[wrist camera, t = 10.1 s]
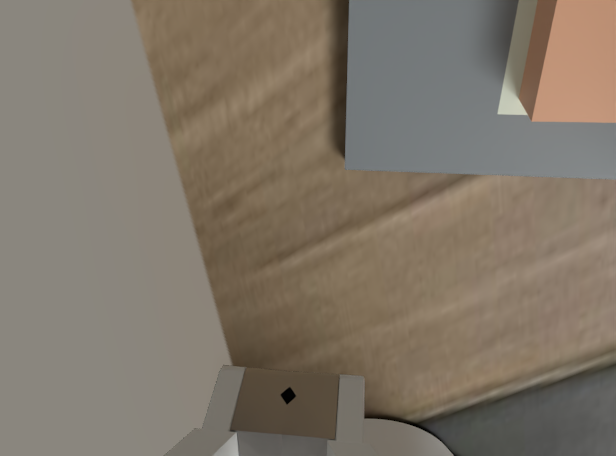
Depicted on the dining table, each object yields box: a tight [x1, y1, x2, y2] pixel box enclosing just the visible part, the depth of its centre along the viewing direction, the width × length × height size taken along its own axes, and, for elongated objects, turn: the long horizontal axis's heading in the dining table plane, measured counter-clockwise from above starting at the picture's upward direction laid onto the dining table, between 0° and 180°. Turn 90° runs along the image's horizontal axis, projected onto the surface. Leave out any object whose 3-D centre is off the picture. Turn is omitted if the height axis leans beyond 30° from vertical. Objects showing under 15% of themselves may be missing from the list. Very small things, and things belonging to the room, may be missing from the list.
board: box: [345, 0, 616, 179], centre depth 27 cm, size 19×20×1 cm
